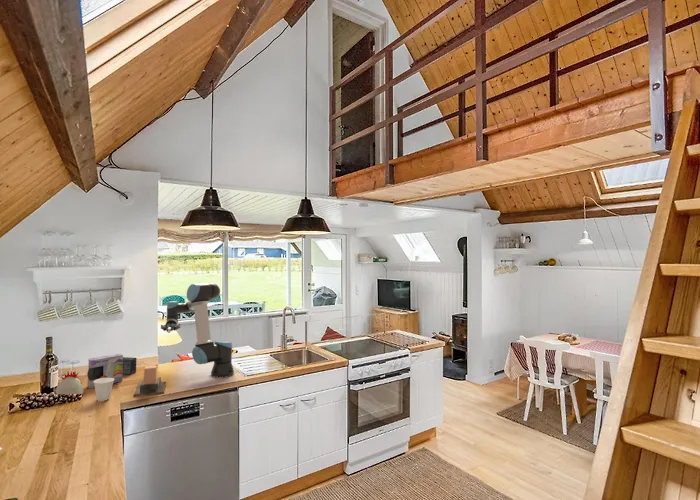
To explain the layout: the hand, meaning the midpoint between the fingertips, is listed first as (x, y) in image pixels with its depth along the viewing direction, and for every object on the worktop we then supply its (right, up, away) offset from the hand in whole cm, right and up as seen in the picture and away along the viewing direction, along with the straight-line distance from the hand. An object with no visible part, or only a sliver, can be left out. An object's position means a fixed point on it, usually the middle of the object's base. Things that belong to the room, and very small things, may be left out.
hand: (169, 330), depth 259 cm
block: (+1, -30, -26) cm, 40 cm away
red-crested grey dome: (-40, -31, -37) cm, 63 cm away
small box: (-34, -32, +9) cm, 47 cm away
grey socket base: (-1, -32, -21) cm, 38 cm away
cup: (-19, -31, -39) cm, 54 cm away
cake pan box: (-34, -31, -14) cm, 48 cm away
